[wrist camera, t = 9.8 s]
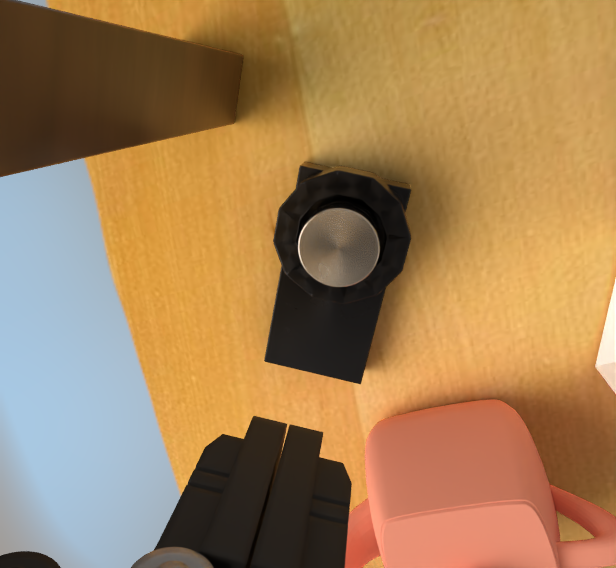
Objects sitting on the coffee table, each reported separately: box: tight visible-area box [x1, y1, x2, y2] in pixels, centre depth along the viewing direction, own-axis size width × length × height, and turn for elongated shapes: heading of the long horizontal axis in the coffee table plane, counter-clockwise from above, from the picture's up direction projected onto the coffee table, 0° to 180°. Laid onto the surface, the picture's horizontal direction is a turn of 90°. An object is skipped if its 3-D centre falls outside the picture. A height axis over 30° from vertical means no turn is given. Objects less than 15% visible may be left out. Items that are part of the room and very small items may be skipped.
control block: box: [264, 162, 411, 384], centre depth 30 cm, size 12×7×4 cm, turn 169°
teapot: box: [345, 399, 616, 568], centre depth 31 cm, size 11×18×10 cm, turn 107°
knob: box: [298, 200, 380, 287], centre depth 27 cm, size 4×4×2 cm
